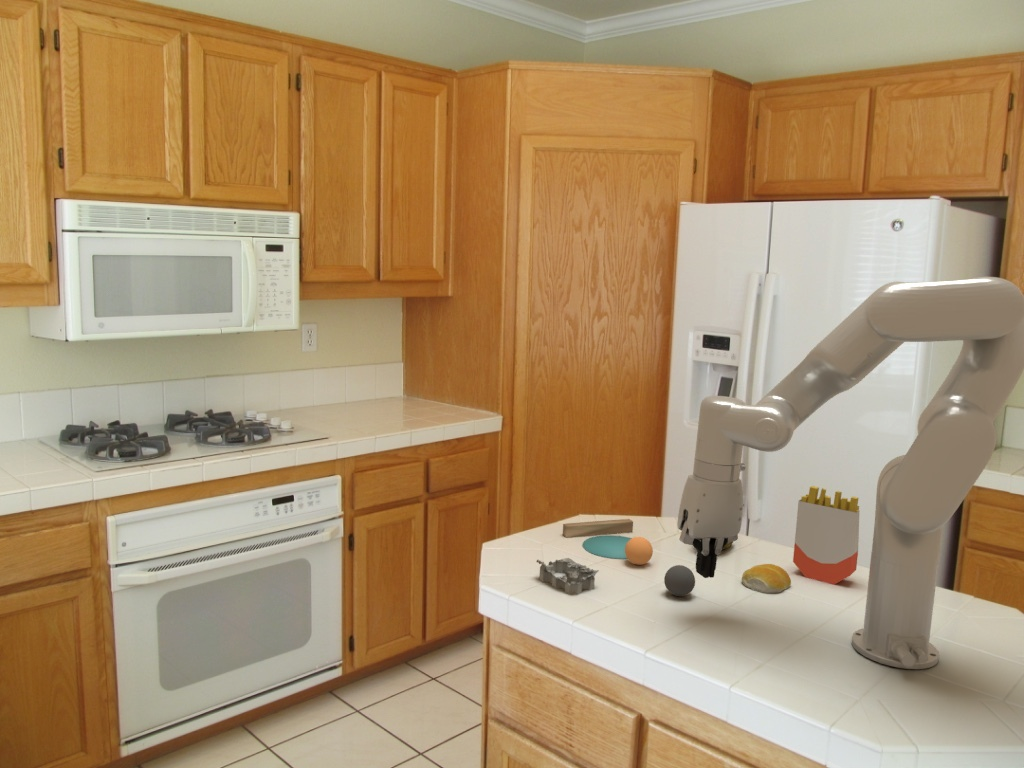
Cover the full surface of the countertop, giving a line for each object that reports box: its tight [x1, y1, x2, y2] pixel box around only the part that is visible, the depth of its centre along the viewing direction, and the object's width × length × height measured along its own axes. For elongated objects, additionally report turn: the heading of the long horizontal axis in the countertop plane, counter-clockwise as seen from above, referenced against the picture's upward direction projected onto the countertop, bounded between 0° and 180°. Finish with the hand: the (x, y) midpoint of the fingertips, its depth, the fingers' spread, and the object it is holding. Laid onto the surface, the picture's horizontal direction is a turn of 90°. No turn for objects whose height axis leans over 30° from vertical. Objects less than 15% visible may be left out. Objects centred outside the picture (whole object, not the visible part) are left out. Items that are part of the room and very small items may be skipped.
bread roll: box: [741, 563, 792, 594], centre depth 160 cm, size 8×9×4 cm
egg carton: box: [536, 557, 600, 595], centre depth 157 cm, size 11×8×4 cm
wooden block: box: [562, 518, 634, 539], centre depth 185 cm, size 2×16×2 cm, turn 109°
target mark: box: [582, 534, 633, 560], centre depth 177 cm, size 14×14×1 cm
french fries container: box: [792, 485, 860, 585], centre depth 163 cm, size 5×11×18 cm, turn 53°
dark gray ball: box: [663, 564, 696, 597], centre depth 152 cm, size 6×6×6 cm
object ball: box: [625, 536, 654, 566], centre depth 167 cm, size 6×6×6 cm
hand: (704, 574), depth 143 cm, fingers closed
